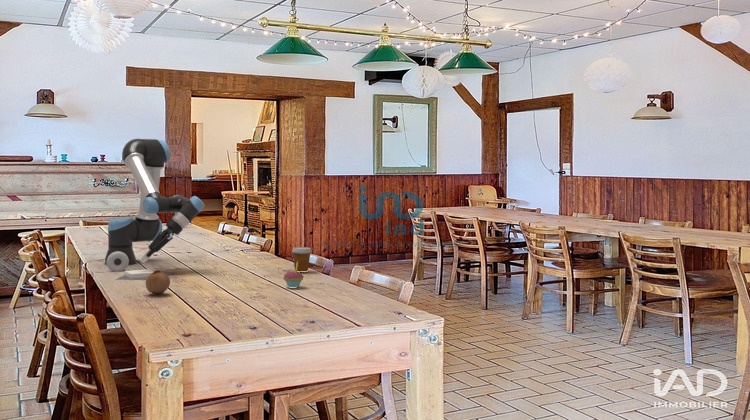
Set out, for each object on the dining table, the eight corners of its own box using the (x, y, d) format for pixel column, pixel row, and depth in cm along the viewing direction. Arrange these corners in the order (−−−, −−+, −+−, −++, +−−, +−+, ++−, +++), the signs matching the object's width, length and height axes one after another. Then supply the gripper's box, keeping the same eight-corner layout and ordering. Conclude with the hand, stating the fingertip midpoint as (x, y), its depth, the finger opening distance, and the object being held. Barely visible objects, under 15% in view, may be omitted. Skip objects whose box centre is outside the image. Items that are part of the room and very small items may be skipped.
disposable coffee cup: (288, 272, 338) (288, 248, 337) (297, 270, 346) (297, 246, 346) (305, 274, 334) (305, 249, 333) (314, 271, 343) (314, 247, 342)
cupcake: (306, 287, 301) (306, 259, 300) (297, 290, 293) (298, 262, 292) (288, 285, 304) (288, 258, 303) (279, 288, 296) (280, 260, 295)
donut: (128, 271, 331) (128, 250, 330) (129, 272, 328) (129, 251, 327) (106, 272, 327) (106, 251, 326) (106, 273, 324) (106, 252, 323)
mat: (131, 272, 327) (131, 271, 326) (174, 273, 327) (174, 272, 327) (115, 280, 305) (115, 279, 305) (161, 281, 305) (161, 280, 305)
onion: (156, 297, 270) (156, 272, 269) (140, 295, 275) (140, 270, 274) (175, 294, 278) (175, 269, 277) (159, 291, 283) (159, 267, 282)
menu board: (148, 269, 322) (124, 270, 315) (155, 272, 314) (131, 274, 307) (148, 273, 322) (124, 275, 316) (155, 276, 314) (131, 278, 308)
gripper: (167, 217, 327) (131, 253, 319) (176, 219, 317) (139, 257, 308) (177, 227, 331) (142, 264, 322) (187, 230, 320) (151, 268, 312)
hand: (141, 261), depth 315 cm, fingers closed
